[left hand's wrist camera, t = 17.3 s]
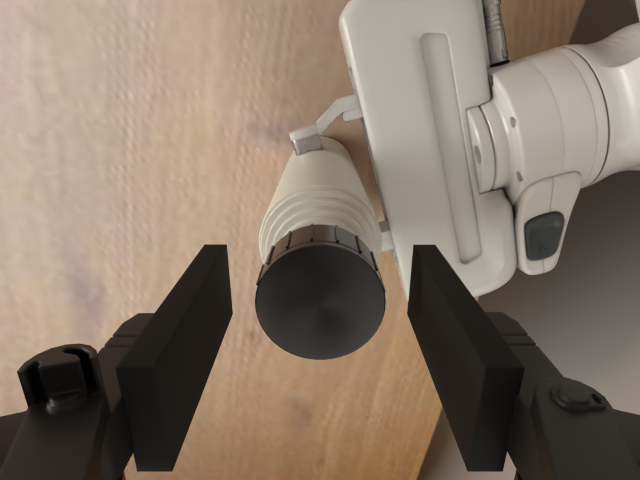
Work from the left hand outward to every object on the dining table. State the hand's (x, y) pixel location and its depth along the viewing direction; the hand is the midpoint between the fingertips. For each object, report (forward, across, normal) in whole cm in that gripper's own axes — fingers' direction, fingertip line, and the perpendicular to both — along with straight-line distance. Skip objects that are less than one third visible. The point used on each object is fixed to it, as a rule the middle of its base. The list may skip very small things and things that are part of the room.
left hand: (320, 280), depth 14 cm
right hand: (+14, -1, 0) cm, 14 cm away
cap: (-1, 0, 0) cm, 1 cm away
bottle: (+21, 0, 0) cm, 21 cm away
